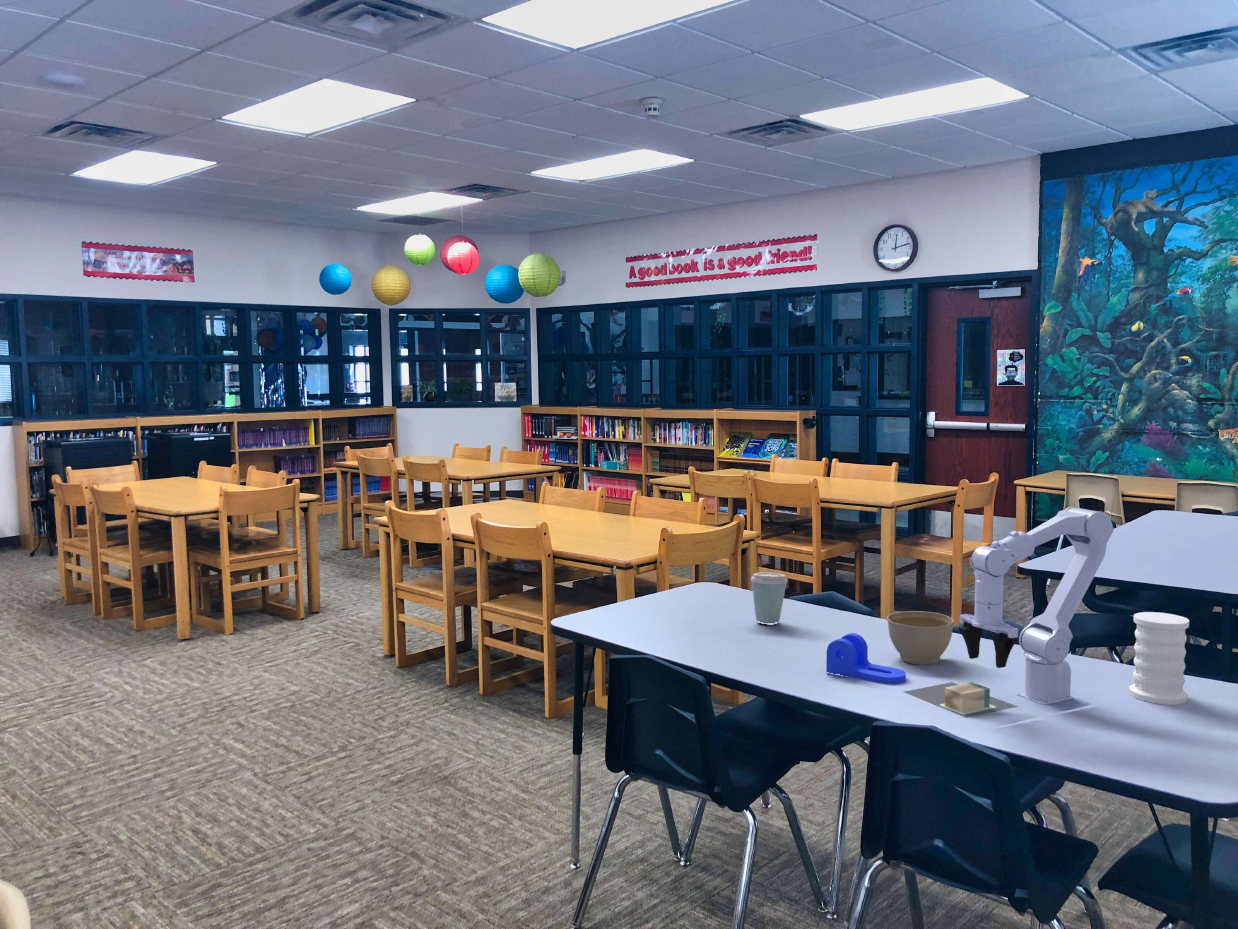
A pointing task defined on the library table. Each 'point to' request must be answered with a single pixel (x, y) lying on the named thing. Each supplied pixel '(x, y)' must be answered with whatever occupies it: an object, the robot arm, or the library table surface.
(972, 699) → the birch block
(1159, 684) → the decorative container
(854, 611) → the library table surface
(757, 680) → the library table surface
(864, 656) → the bracket
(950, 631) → the planter bowl
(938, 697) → the rubber mat
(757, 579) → the disposable coffee cup
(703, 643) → the library table surface
